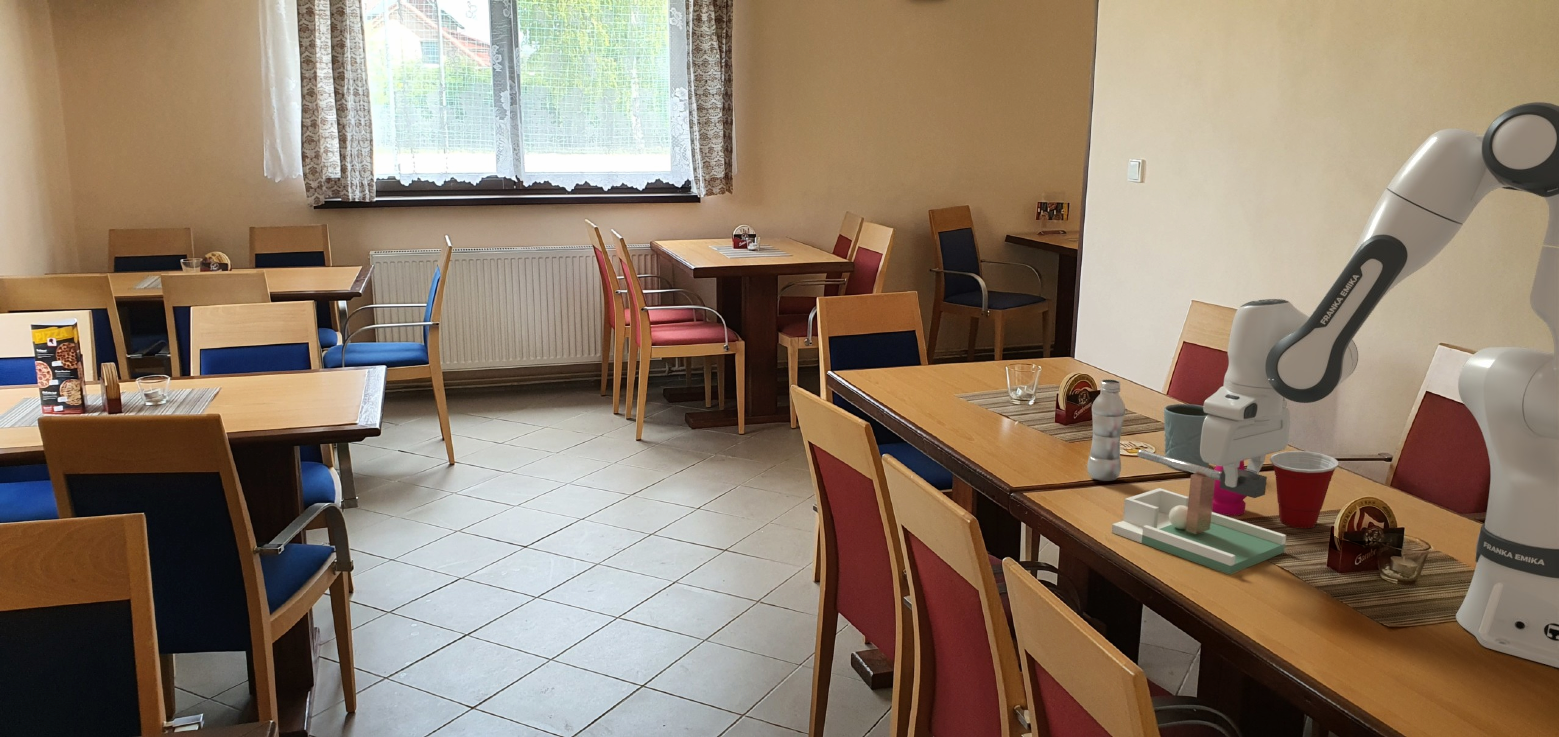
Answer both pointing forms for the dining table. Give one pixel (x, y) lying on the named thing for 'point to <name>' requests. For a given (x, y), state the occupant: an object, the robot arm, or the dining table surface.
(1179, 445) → the grey textured cup
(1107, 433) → the plastic bottle
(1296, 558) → the dining table surface
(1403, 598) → the dining table surface
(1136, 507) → the pitch
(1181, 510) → the ball
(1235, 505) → the pepper mill
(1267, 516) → the dining table surface
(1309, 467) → the plastic cup
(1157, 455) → the kicker rod
